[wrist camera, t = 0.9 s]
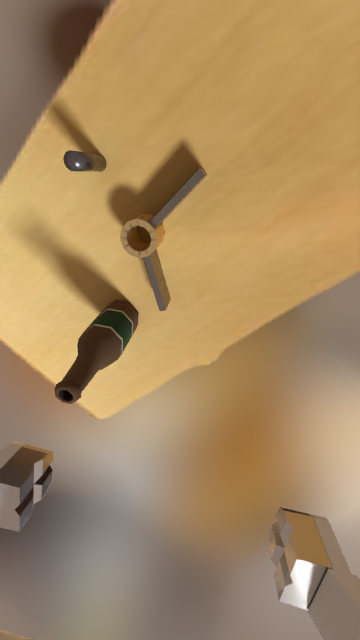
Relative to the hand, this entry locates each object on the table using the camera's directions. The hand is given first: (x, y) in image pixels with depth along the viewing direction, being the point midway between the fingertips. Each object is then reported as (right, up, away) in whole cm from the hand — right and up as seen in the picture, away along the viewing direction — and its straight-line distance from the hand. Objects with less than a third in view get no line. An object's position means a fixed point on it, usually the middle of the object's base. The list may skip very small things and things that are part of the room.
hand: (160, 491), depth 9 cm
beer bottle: (-12, +7, +48) cm, 50 cm away
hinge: (0, +21, +38) cm, 44 cm away
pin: (-13, +32, +34) cm, 49 cm away
